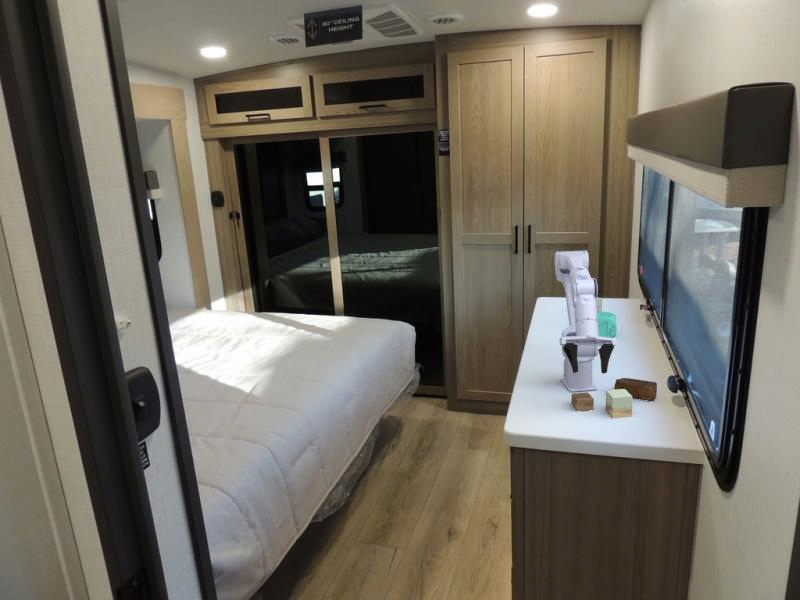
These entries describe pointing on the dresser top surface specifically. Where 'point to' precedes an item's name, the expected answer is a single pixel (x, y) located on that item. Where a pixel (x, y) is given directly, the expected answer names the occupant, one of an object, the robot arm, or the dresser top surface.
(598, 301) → the product box
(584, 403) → the walnut block
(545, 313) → the dresser top surface
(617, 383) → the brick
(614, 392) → the sage block
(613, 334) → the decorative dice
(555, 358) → the dresser top surface
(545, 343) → the dresser top surface
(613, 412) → the oak block
